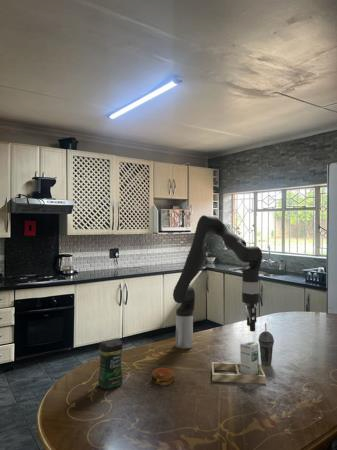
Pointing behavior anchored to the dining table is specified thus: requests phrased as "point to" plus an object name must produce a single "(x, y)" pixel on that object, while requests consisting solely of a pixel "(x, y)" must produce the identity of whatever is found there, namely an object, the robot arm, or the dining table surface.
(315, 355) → the dining table surface
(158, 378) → the burger
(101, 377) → the coffee jar
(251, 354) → the syrup box
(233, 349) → the dining table surface
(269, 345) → the beverage cup
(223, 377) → the wooden frame
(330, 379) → the dining table surface
